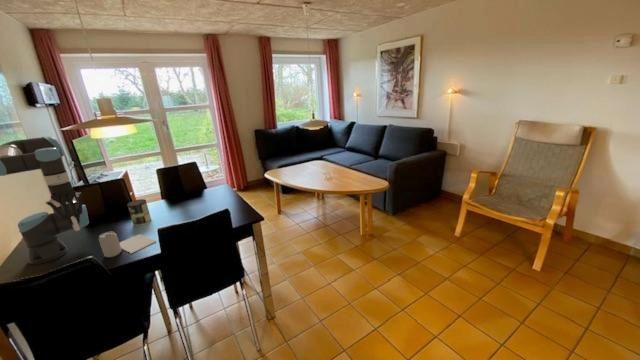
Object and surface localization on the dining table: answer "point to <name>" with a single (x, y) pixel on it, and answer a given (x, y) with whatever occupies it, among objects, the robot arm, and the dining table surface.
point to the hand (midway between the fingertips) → (77, 229)
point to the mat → (136, 243)
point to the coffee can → (139, 212)
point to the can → (110, 244)
